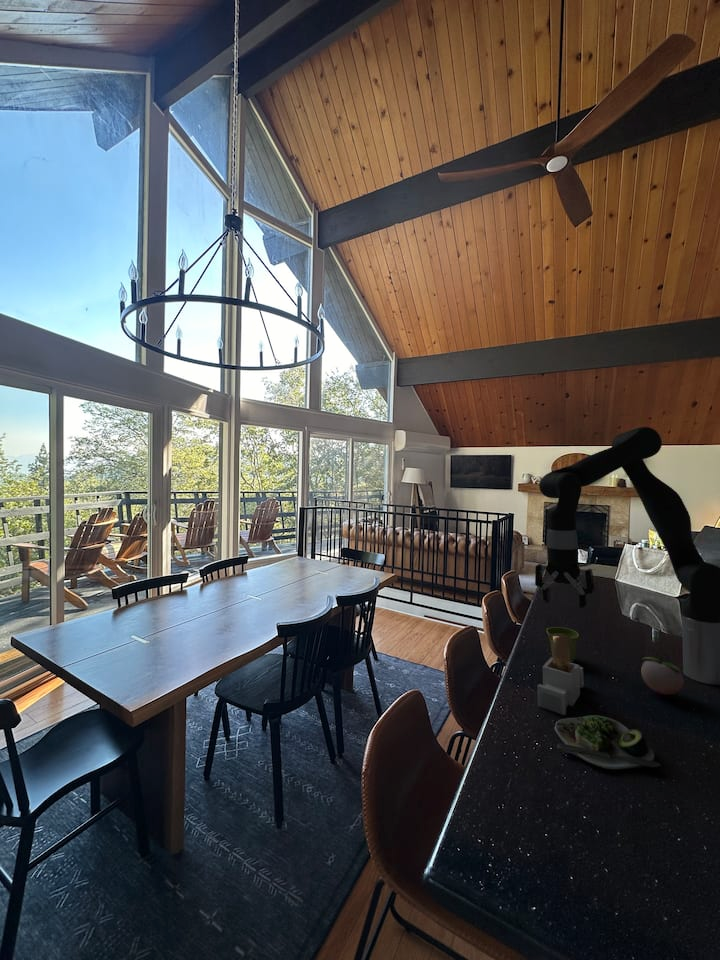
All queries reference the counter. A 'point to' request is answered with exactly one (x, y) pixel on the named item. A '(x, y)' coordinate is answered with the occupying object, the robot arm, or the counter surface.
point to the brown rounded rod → (561, 652)
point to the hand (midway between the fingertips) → (564, 605)
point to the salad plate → (605, 743)
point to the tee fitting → (559, 687)
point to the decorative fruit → (662, 676)
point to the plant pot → (571, 633)
